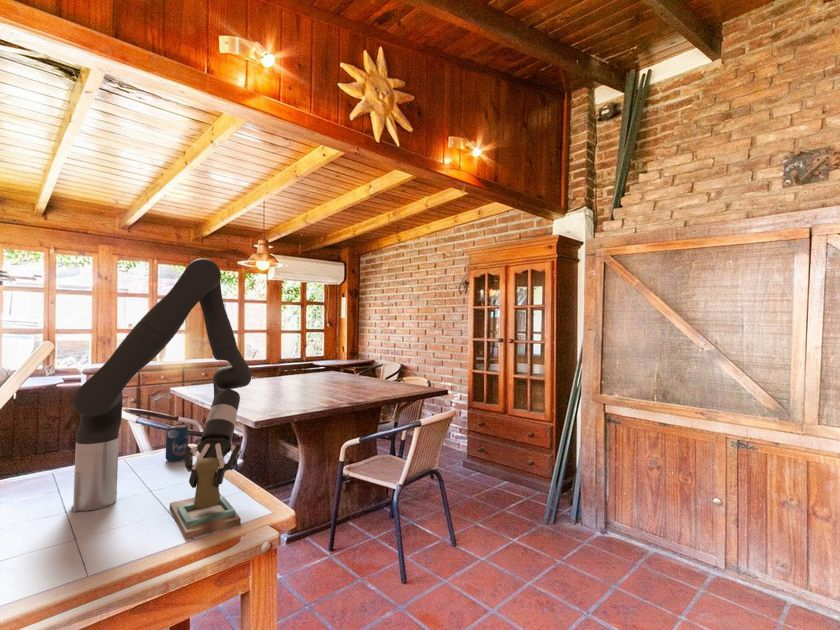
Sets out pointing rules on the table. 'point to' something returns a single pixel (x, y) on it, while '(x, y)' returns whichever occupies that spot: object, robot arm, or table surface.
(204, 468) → the cork
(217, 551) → the table surface
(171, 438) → the soda can
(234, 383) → the robot arm
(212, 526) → the holder plate
